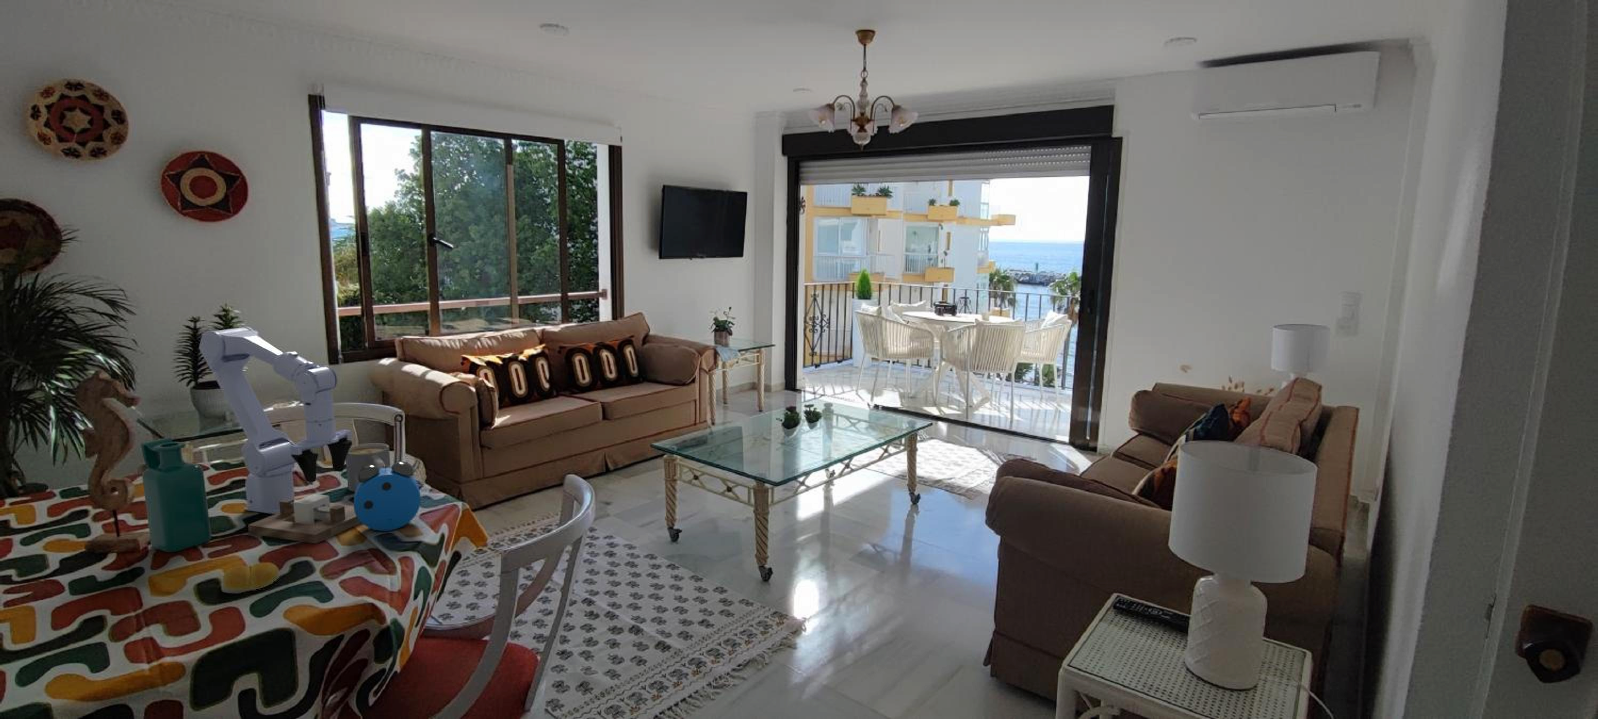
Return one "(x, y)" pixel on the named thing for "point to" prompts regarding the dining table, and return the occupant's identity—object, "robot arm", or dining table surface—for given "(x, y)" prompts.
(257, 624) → the dining table surface
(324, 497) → the grey u-slotted block
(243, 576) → the bread roll
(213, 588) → the dining table surface
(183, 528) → the teal bottle
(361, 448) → the coffee mug
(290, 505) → the hook bar
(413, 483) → the alarm clock
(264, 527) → the shelf
